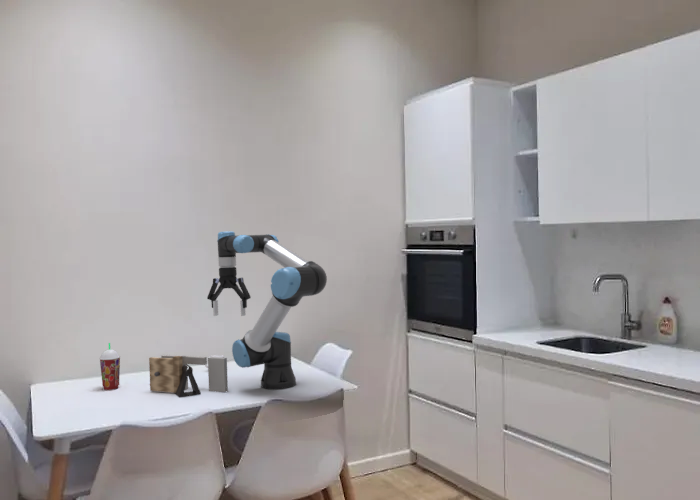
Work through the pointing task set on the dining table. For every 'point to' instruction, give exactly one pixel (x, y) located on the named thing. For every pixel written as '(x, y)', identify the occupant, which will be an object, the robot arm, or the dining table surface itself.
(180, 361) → the door
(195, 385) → the phone stand
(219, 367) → the wall
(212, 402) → the dining table surface
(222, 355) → the cup
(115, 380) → the smoothie
